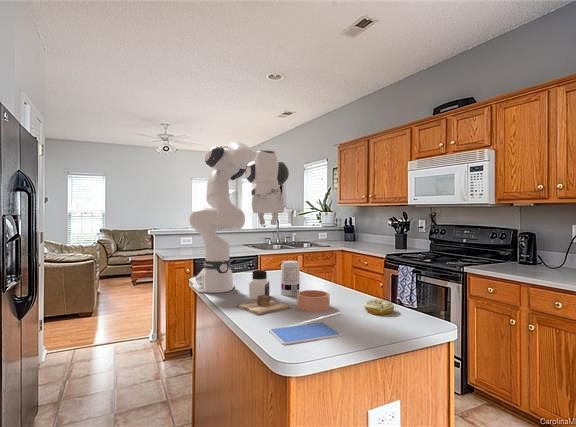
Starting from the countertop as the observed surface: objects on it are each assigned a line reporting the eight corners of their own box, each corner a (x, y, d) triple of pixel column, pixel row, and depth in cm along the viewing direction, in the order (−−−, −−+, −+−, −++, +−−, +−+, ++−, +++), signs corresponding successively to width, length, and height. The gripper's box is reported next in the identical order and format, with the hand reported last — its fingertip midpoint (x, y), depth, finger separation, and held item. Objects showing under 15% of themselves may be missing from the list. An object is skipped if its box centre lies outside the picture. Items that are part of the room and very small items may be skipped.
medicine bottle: (265, 301, 146) (265, 272, 146) (248, 300, 148) (249, 271, 148) (269, 296, 153) (269, 269, 153) (253, 296, 155) (254, 268, 155)
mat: (234, 307, 136) (234, 306, 136) (267, 301, 146) (267, 299, 146) (258, 317, 124) (258, 316, 124) (292, 309, 134) (292, 308, 134)
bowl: (291, 308, 136) (291, 293, 136) (313, 302, 144) (313, 288, 144) (312, 315, 127) (313, 299, 127) (335, 309, 134) (335, 294, 134)
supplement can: (277, 295, 156) (277, 261, 156) (289, 292, 162) (290, 259, 162) (290, 298, 151) (290, 263, 151) (303, 295, 157) (303, 261, 157)
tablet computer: (322, 325, 118) (322, 321, 117) (342, 338, 106) (342, 333, 106) (268, 333, 110) (268, 328, 110) (283, 347, 98) (283, 343, 98)
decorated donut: (359, 311, 132) (359, 301, 132) (373, 306, 140) (373, 296, 140) (384, 317, 125) (384, 307, 125) (398, 311, 133) (398, 301, 133)
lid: (238, 306, 136) (238, 295, 136) (267, 300, 145) (267, 290, 145) (259, 314, 125) (259, 302, 125) (289, 308, 134) (289, 296, 134)
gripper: (287, 188, 133) (288, 224, 133) (262, 191, 151) (263, 224, 151) (273, 188, 130) (273, 225, 130) (249, 191, 147) (249, 224, 147)
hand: (267, 224), depth 141 cm, fingers open, 8 cm apart
